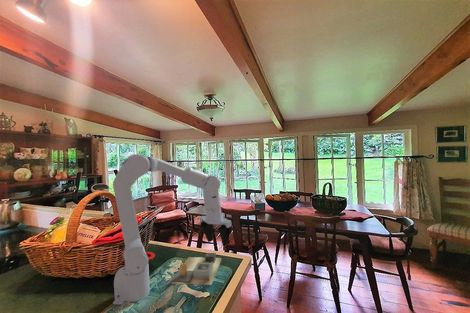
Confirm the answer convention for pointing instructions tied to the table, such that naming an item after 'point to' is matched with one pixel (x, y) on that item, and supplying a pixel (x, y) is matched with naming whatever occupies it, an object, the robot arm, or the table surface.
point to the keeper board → (209, 258)
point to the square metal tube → (203, 271)
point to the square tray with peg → (183, 274)
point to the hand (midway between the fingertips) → (217, 242)
